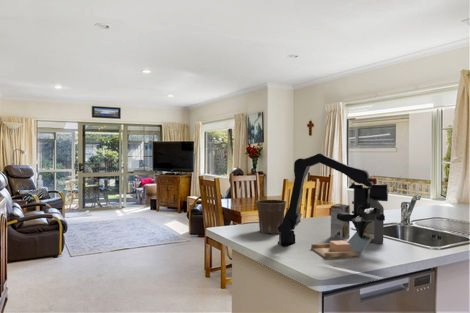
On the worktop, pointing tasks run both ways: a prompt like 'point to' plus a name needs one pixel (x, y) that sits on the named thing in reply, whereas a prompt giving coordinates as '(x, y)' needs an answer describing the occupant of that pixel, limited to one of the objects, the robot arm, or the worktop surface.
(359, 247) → the tailgate
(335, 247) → the block
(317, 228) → the worktop surface
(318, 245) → the square wooden tray
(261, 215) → the plant pot
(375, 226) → the liquor
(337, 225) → the coffee box
